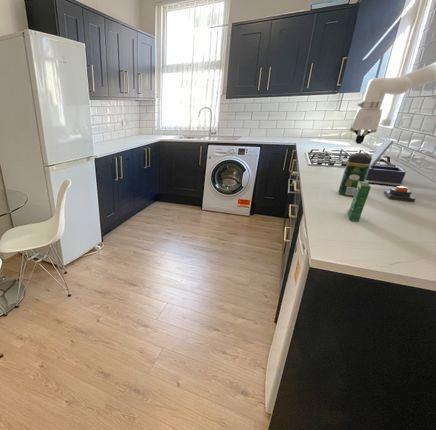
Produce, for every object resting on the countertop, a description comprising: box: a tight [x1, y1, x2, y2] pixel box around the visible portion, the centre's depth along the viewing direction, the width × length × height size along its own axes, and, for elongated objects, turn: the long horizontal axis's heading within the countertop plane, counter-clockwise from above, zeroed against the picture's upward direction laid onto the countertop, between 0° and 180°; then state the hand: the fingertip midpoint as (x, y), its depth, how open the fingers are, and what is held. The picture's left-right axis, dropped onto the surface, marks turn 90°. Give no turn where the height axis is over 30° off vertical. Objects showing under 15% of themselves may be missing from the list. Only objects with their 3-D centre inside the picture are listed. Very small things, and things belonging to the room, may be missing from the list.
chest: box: [364, 164, 407, 188], centre depth 144 cm, size 14×12×8 cm
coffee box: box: [347, 181, 372, 222], centre depth 100 cm, size 8×3×13 cm, turn 145°
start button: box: [395, 185, 409, 192], centre depth 122 cm, size 4×4×2 cm
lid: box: [369, 137, 395, 168], centre depth 142 cm, size 14×12×1 cm
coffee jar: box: [338, 152, 372, 197], centre depth 125 cm, size 10×8×19 cm
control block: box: [383, 187, 416, 203], centre depth 123 cm, size 10×8×4 cm
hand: (358, 143), depth 145 cm, fingers closed
